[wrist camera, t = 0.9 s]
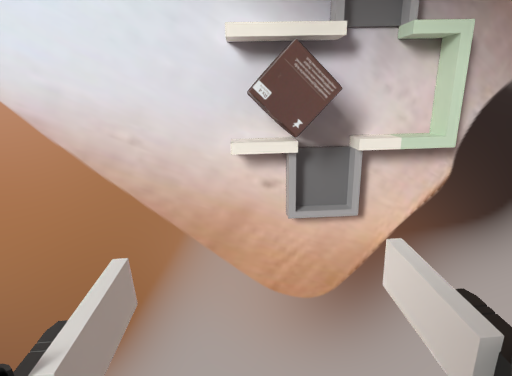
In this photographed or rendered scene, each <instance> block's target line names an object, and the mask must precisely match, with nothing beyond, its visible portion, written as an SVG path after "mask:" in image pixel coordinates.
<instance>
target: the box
mask: <svg viewBox="0 0 512 376" xmlns="http://www.w3.org/2000/svg"><path fill="white" fill-rule="evenodd" d="M341 90H342V87H341V86H340V84H339V83H338V82H337V81H336V80H335V79H334V78H333V77H332V75H331V74H330V73H329V72H328V71H327V70H326V69H325V68H324V67H323V66H322V65H321V64H320V63H319V62H318V61H317V60H316V58H315V57H314V56H313V55H312V54H311V53H310V52H309V51H308V50H307V49H306V48H305V47H304V46H303V45H302V44H301V43H300V42H299V41H298V40H297V39H295V40H294V41H292V42H291V43H290V44H289V45H288V46H287V47H286V48H285V49H284V50H283V51H282V52H281V53H280V54H279V56H278V57H277V58H276V59H275V60H274V61H273V62H272V63H271V64H270V66H269V67H268V68H267V69H266V70H265V71H264V72H263V74H262V75H261V76H260V77H259V78H258V79H257V81H256V82H255V83H254V84H253V85H252V87H251V88H250V89H249V90H248V91H247V94H248V95H249V96H250V97H251V98H252V99H253V100H254V101H255V102H256V103H257V104H258V105H259V106H260V107H261V108H262V109H263V110H264V111H265V112H266V113H267V114H268V115H269V116H270V117H271V118H272V119H274V120H275V121H276V122H277V123H278V124H279V125H280V126H281V127H282V128H283V129H284V130H286V131H287V132H288V133H290V134H291V135H292V136H293V137H298V136H299V134H300V133H301V132H302V131H303V130H304V129H305V128H306V127H307V126H308V125H309V124H310V123H311V122H312V121H313V119H314V118H315V117H316V116H317V115H318V114H319V113H320V112H321V111H322V110H323V109H324V108H325V107H326V106H327V104H328V103H329V102H330V101H331V100H332V99H333V98H334V97H335V96H336V95H337V94H338V93H339V92H340V91H341Z"/></svg>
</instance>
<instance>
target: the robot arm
mask: <svg viewBox="0 0 512 376" xmlns="http://www.w3.org/2000/svg"><path fill="white" fill-rule="evenodd" d="M383 286H384V287H385V289H386V290H387V292H388V293H389V295H390V296H391V297H392V299H393V300H394V301H395V303H396V304H397V306H398V307H399V309H400V310H401V311H402V313H403V314H404V315H405V317H406V318H407V320H408V321H409V323H410V324H411V325H412V327H413V328H414V330H415V331H416V332H417V334H418V335H419V336H420V338H421V339H422V341H423V342H424V344H425V345H426V346H427V348H428V349H429V351H430V352H431V353H432V355H433V356H434V357H435V359H436V360H437V362H438V363H439V364H440V366H441V367H442V369H443V370H444V371H445V373H446V374H447V376H512V327H511V326H510V325H509V324H508V323H507V322H505V321H504V320H503V319H502V318H501V317H500V316H499V315H498V314H495V312H494V311H493V310H492V309H491V308H490V307H487V305H486V304H485V303H484V302H483V301H482V300H481V299H480V298H478V297H477V296H476V295H474V294H472V293H470V292H469V291H467V290H465V289H454V288H453V287H452V286H451V285H450V284H449V283H448V282H447V281H446V280H445V279H444V278H443V277H441V276H440V274H438V273H437V272H436V271H435V270H434V269H433V268H432V267H431V266H430V265H429V264H428V263H427V262H426V261H425V260H424V259H423V258H422V257H420V256H419V255H418V254H417V253H416V252H415V251H414V250H413V249H412V248H411V247H410V246H409V245H408V244H407V243H406V242H405V241H404V240H403V239H402V238H397V239H387V241H386V252H385V264H384V276H383ZM136 306H137V299H136V294H135V289H134V285H133V280H132V275H131V271H130V265H129V261H128V258H123V259H112V261H111V262H110V264H109V265H108V266H107V268H106V269H105V271H104V272H103V273H102V275H101V276H100V277H99V279H98V280H97V281H96V283H95V284H94V285H93V287H92V288H91V290H90V291H89V292H88V294H87V295H86V297H85V298H84V299H83V301H82V302H81V303H80V305H79V306H78V308H77V309H76V310H75V312H74V313H73V314H72V316H71V317H70V319H69V320H68V321H58V322H57V323H56V324H54V325H53V326H52V327H50V328H49V329H48V330H47V331H46V332H45V333H44V334H43V335H42V337H41V338H40V339H39V340H38V342H37V344H35V346H34V347H33V348H32V349H31V351H30V353H28V355H27V356H26V357H25V358H24V360H23V361H22V362H21V363H20V365H19V366H18V367H17V368H16V370H15V371H14V372H13V371H12V369H11V367H10V366H9V365H6V364H0V376H104V375H105V373H106V371H107V369H108V367H109V364H110V362H111V360H112V358H113V356H114V354H115V351H116V349H117V347H118V345H119V343H120V341H121V338H122V336H123V334H124V332H125V330H126V328H127V326H128V323H129V321H130V319H131V317H132V315H133V313H134V311H135V308H136Z"/></svg>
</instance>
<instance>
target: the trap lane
mask: <svg viewBox="0 0 512 376" xmlns="http://www.w3.org/2000/svg"><path fill="white" fill-rule="evenodd" d="M418 8H419V0H331V13H330V21H294V22H225V35H226V41H227V42H244V41H294V40H295V39H297V40H298V41H303V40H338V39H340V38H341V37H343V36H345V35H346V34H347V27H387V26H399V32H398V39H420V38H442V42H441V50H440V58H439V65H438V73H437V80H436V88H435V95H434V103H433V110H432V118H431V126H430V133H417V134H384V135H352V136H350V144H349V146H336V147H306V148H298V141H297V140H296V139H295V138H294V137H288V138H256V139H231V155H239V154H269V153H286V214H287V216H288V218H312V217H335V216H358V207H359V194H360V180H361V166H362V153H363V150H389V149H419V148H449V147H455V145H456V139H457V132H458V126H459V120H460V113H461V107H462V101H463V94H464V88H465V81H466V75H467V69H468V62H469V56H470V50H471V43H472V37H473V31H474V24H475V19H435V20H417V17H418Z"/></svg>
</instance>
